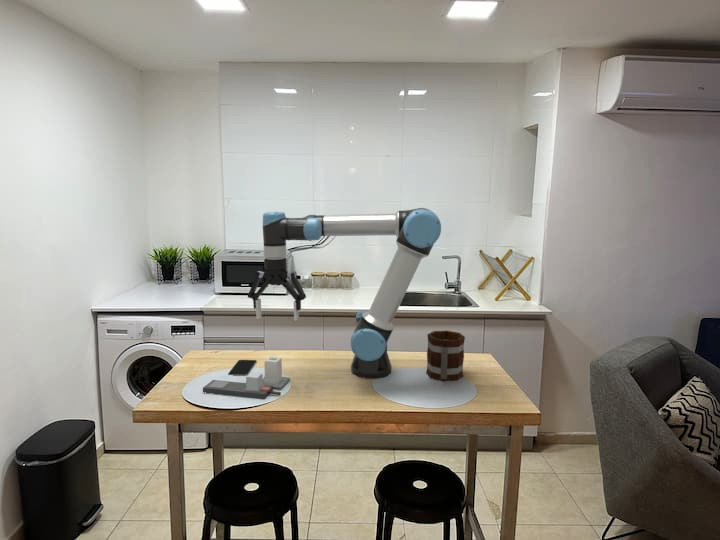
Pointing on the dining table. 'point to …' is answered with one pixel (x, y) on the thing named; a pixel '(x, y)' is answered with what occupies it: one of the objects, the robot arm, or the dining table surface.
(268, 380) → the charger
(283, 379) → the coaster
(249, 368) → the smartphone
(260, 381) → the cube
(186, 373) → the dining table surface
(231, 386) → the power strip
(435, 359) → the mug
